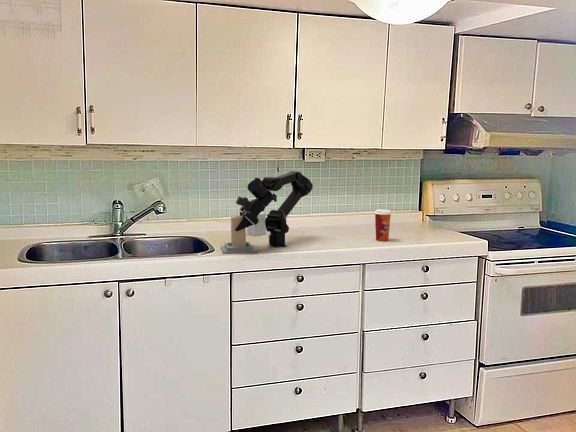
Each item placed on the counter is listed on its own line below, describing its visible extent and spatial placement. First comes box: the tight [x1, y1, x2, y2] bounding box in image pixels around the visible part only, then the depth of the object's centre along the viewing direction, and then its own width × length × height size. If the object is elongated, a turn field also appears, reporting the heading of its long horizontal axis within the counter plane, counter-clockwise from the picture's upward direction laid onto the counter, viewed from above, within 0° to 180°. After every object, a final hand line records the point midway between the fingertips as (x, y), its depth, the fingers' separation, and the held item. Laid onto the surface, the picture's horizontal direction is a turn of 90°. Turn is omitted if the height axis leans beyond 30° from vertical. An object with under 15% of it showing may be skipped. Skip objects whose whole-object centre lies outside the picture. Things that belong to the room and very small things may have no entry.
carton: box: [230, 215, 247, 247], centre depth 238 cm, size 6×6×12 cm
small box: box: [246, 211, 267, 237], centre depth 274 cm, size 8×6×10 cm
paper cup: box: [374, 208, 392, 242], centre depth 261 cm, size 8×8×14 cm
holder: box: [220, 241, 258, 255], centre depth 239 cm, size 14×12×2 cm
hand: (235, 229), depth 238 cm, fingers closed on carton, 5 cm apart
